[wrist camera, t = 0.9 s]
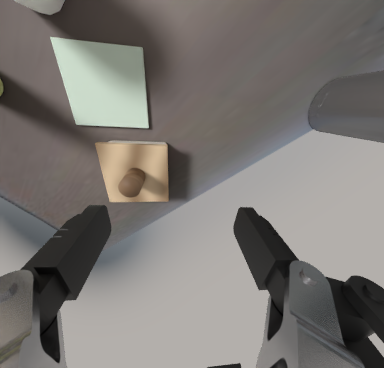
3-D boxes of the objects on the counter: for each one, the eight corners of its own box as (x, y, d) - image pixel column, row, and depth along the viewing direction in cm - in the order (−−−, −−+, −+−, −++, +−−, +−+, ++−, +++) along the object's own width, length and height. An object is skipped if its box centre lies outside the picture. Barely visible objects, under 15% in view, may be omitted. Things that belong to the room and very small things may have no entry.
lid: (167, 144, 24) (165, 153, 20) (168, 198, 30) (167, 216, 25) (98, 142, 23) (78, 151, 18) (111, 199, 28) (99, 217, 24)
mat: (142, 48, 21) (142, 47, 21) (149, 127, 26) (148, 128, 26) (53, 38, 20) (50, 37, 19) (78, 124, 25) (76, 124, 25)
